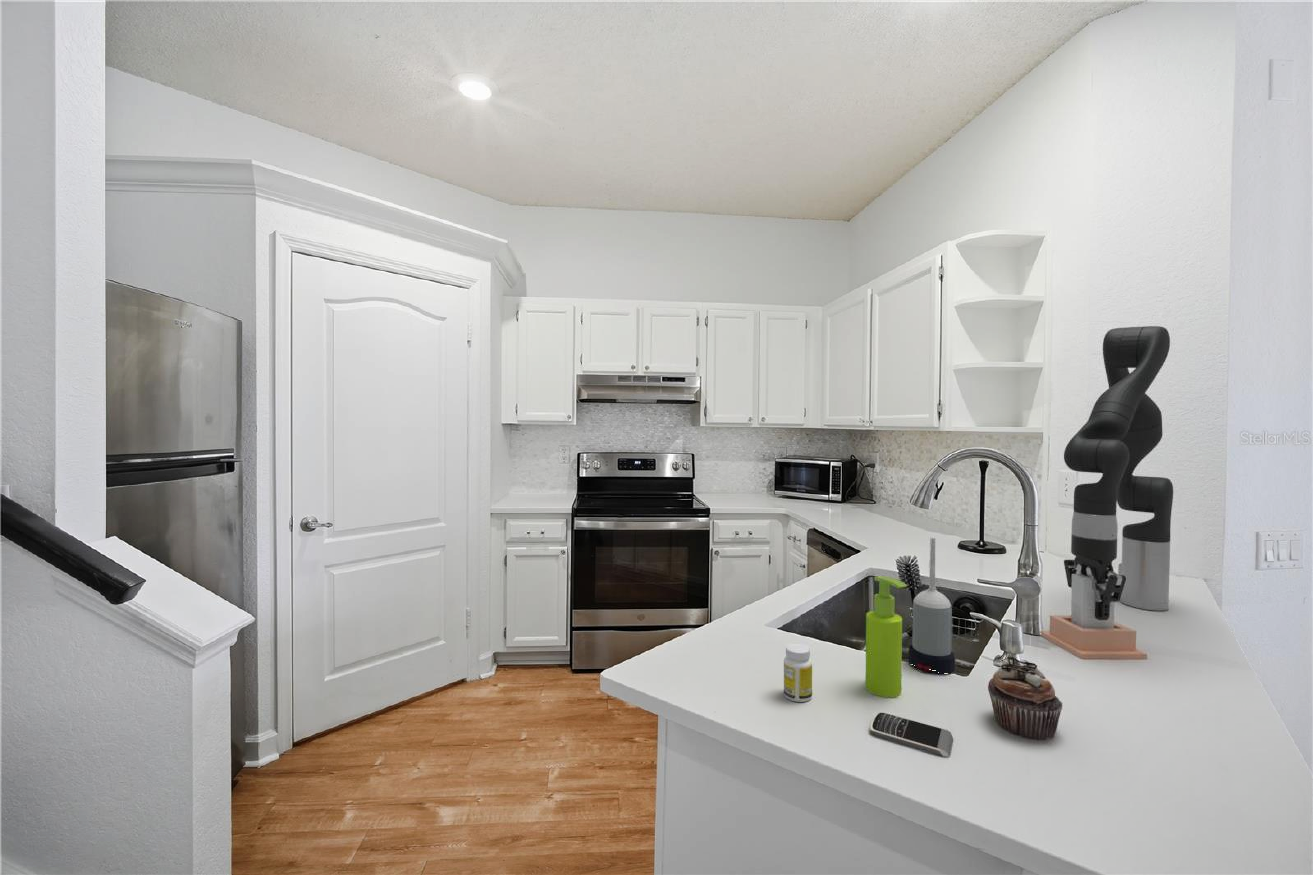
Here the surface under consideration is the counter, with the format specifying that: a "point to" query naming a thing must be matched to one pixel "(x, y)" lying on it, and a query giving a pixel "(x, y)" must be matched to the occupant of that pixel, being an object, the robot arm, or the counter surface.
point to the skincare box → (1087, 605)
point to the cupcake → (1024, 700)
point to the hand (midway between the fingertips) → (1091, 614)
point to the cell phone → (912, 734)
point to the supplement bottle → (798, 673)
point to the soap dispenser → (884, 642)
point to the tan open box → (1093, 640)
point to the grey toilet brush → (932, 628)
